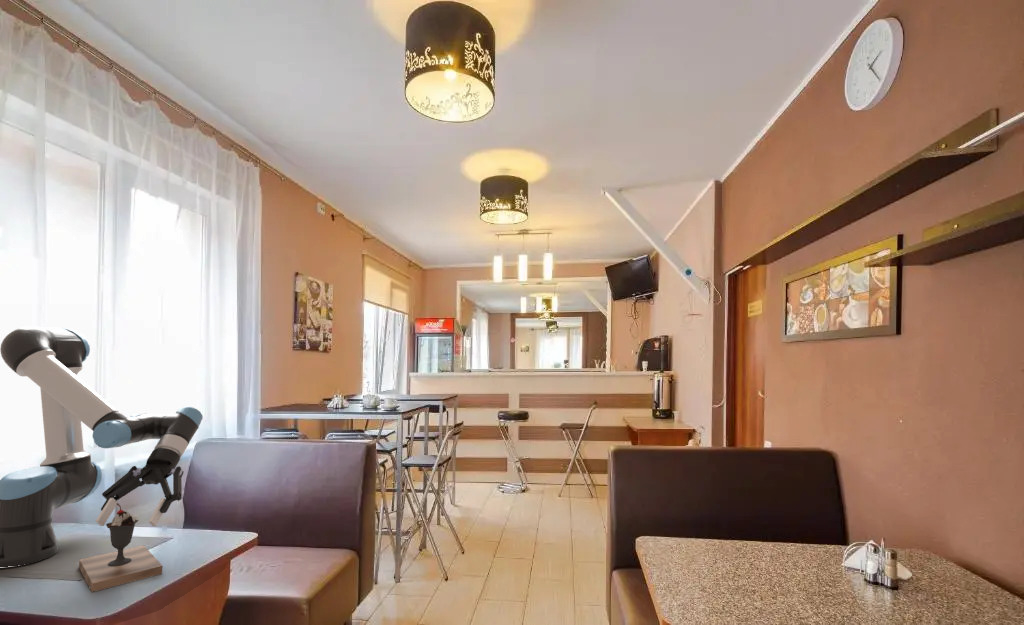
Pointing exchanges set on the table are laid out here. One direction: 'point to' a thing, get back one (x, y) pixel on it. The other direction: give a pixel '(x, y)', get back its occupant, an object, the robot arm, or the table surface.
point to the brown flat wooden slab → (119, 568)
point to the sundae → (121, 535)
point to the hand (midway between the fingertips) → (125, 523)
